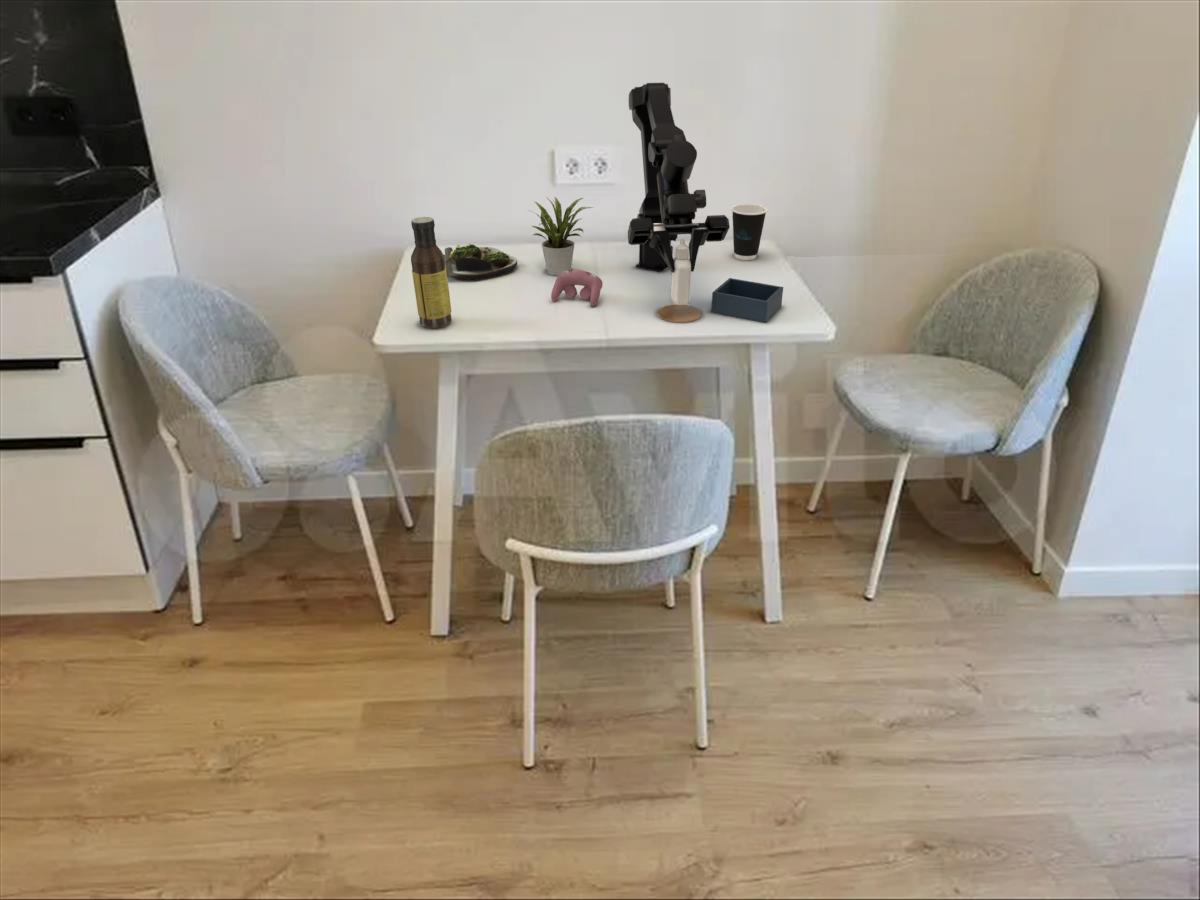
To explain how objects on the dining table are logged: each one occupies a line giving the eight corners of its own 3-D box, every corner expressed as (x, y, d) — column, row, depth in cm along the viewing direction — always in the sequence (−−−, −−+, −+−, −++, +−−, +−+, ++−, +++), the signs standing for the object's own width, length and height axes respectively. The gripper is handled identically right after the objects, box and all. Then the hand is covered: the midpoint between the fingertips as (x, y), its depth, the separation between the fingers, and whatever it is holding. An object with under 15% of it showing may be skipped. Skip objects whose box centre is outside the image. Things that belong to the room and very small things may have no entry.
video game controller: (601, 308, 178) (606, 274, 177) (594, 306, 174) (599, 270, 173) (555, 303, 181) (560, 268, 180) (548, 300, 177) (553, 265, 176)
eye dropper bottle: (664, 304, 169) (666, 242, 162) (673, 294, 173) (676, 234, 167) (686, 307, 167) (689, 245, 161) (695, 297, 172) (698, 236, 165)
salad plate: (415, 262, 199) (412, 242, 196) (485, 247, 207) (483, 228, 205) (454, 286, 185) (452, 265, 183) (527, 270, 194) (526, 249, 191)
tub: (710, 312, 172) (712, 292, 170) (728, 297, 179) (729, 277, 177) (765, 322, 168) (767, 302, 165) (781, 306, 175) (783, 286, 172)
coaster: (650, 317, 170) (650, 315, 170) (668, 303, 176) (668, 301, 176) (690, 325, 166) (690, 323, 166) (707, 311, 173) (707, 309, 173)
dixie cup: (731, 262, 197) (735, 214, 192) (724, 251, 204) (728, 204, 199) (766, 261, 198) (771, 213, 192) (758, 250, 205) (762, 203, 199)
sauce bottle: (458, 320, 169) (449, 217, 159) (440, 331, 164) (429, 226, 154) (430, 314, 172) (419, 212, 161) (411, 326, 167) (398, 221, 157)
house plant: (603, 262, 198) (603, 189, 189) (590, 283, 186) (589, 206, 178) (541, 258, 200) (538, 186, 192) (524, 279, 189) (521, 202, 180)
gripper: (630, 175, 161) (639, 253, 157) (731, 171, 162) (741, 249, 159) (624, 206, 171) (631, 280, 168) (718, 202, 173) (727, 276, 170)
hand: (682, 271), depth 166 cm, fingers closed on eye dropper bottle, 3 cm apart
